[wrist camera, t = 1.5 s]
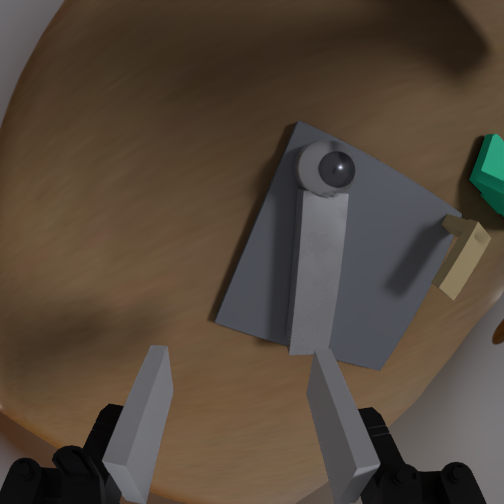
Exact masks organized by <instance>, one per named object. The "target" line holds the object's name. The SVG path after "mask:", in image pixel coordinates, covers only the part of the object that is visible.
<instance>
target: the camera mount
mask: <svg viewBox="0 0 504 504" xmlns="http://www.w3.org/2000/svg"><path fill="white" fill-rule="evenodd" d="M469 180H470V181H471V182H472V183H473V184H474V185H475V186H476V187H477V188H478V189H479V190H480V191H481V196H482V197H483V198H484V199H485V200H486V201H487V202H488V204H489V205H490V206H491V207H492V208H493V209H494V210H495V211H496V212H497V213H498V214H502V216H503V217H504V141H503V140H502V139H501V138H500V137H499V135H497V134H487V135H486V136H485V138H484V141H483V144H482V147H481V150H480V153H479V155H478V158H477V161H476V164H475V166H474V169H473V171H472V174H471V177H470V179H469Z"/></svg>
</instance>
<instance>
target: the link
mask: <svg viewBox="0 0 504 504" xmlns="http://www.w3.org/2000/svg"><path fill="white" fill-rule="evenodd" d="M293 172H294V176H295V179H296V181H297V183H298V184H299V185H300V186H301V187H302V188H303V189H301V188H297V204H296V220H295V235H294V248H293V261H292V274H291V286H290V297H289V308H288V318H287V328H286V338H285V340H286V344H287V349H288V353H289V355H311V354H314V349H328V347H329V342H330V336H331V331H332V325H333V319H334V313H335V307H336V301H337V294H338V287H339V280H340V273H341V265H342V257H343V248H344V239H345V230H346V220H347V209H348V196H349V194H346V193H345V192H346V191H347V190H348V189H349V188H350V186H351V185H352V183H353V181H354V178H355V172H356V168H355V162H354V159H353V157H352V155H351V153H350V152H349V150H348V149H347V148H346V147H345V146H343V145H342V144H340V143H338V142H336V141H333V140H321V141H317V142H314V143H310V144H308V145H306V146H304V147H303V148H302V149H301V150H300V151H299V152H298V153H297V155H296V157H295V159H294V163H293Z"/></svg>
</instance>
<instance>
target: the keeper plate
mask: <svg viewBox="0 0 504 504" xmlns="http://www.w3.org/2000/svg"><path fill="white" fill-rule="evenodd" d="M321 140H333V141H336V142H338V143H340V144H342V145H343V146H345V147H346V148H347V149H348V150H349V152H350V153H351V155H352V157H353V159H354V162H355V168H356V172H355V178H354V181H353V183H352V185H351V186H350V188H349V189H348V190H347V191H346V192H345V193H346V194H349V196H348V209H347V220H346V230H345V239H344V248H343V257H342V265H341V273H340V280H339V287H338V294H337V301H336V307H335V313H334V319H333V325H332V331H331V336H330V342H329V347H328V349H331V351H332V353H333V355H334V357H335V359H336V360H339V361H342V362H346V363H350V364H354V365H358V366H363V367H367V368H371V369H375V370H381V368H382V367H383V365H384V364H385V362H386V361H387V359H388V358H389V356H390V355H391V353H392V352H393V350H394V349H395V347H396V345H397V344H398V342H399V341H400V339H401V337H402V336H403V334H404V332H405V331H406V329H407V327H408V326H409V324H410V322H411V321H412V319H413V317H414V315H415V314H416V312H417V310H418V308H419V306H420V305H421V303H422V301H423V299H424V297H425V295H426V293H427V292H428V290H429V288H430V286H431V284H432V283H433V284H434V285H435V286H436V287H437V288H438V289H440V290H441V291H442V292H443V293H444V294H445V295H447V296H448V297H449V298H451V299H452V300H453V301H454V299H455V298H456V297H457V295H458V293H459V292H460V290H461V289H462V287H463V286H464V284H465V283H466V281H467V279H468V278H469V276H470V275H471V273H472V271H473V270H474V268H475V266H476V264H477V263H478V261H479V259H480V258H481V256H482V254H483V252H484V250H485V249H486V247H487V245H488V243H489V241H490V239H491V237H490V236H489V235H488V233H487V232H486V231H485V229H484V228H483V227H482V226H481V225H480V223H479V222H478V221H475V220H471V219H469V220H466V219H462V218H461V217H462V214H461V213H460V212H459V211H457V210H456V209H454V208H453V207H452V206H450V205H449V204H447V203H446V202H444V201H443V200H441V199H440V198H439V197H437V196H436V195H434V194H433V193H431V192H430V191H428V190H426V189H425V188H423V187H422V186H420V185H419V184H417V183H416V182H414V181H412V180H411V179H409V178H408V177H406V176H404V175H403V174H401V173H399V172H398V171H396V170H394V169H393V168H391V167H389V166H387V165H386V164H384V163H382V162H381V161H379V160H377V159H375V158H373V157H372V156H370V155H368V154H366V153H364V152H362V151H361V150H359V149H357V148H355V147H353V146H351V145H349V144H347V143H345V142H343V141H341V140H339V139H337V138H335V137H333V136H331V135H329V134H327V133H325V132H323V131H321V130H319V129H317V128H315V127H312V126H310V125H308V124H306V123H304V122H301V121H297V122H296V124H295V126H294V128H293V131H292V133H291V135H290V138H289V140H288V143H287V145H286V147H285V150H284V152H283V154H282V157H281V159H280V162H279V164H278V166H277V169H276V171H275V173H274V176H273V178H272V181H271V183H270V185H269V188H268V190H267V193H266V195H265V197H264V200H263V202H262V205H261V207H260V209H259V212H258V214H257V217H256V219H255V221H254V224H253V226H252V229H251V231H250V234H249V236H248V238H247V241H246V243H245V246H244V248H243V251H242V253H241V255H240V258H239V260H238V263H237V265H236V268H235V270H234V272H233V275H232V277H231V280H230V282H229V285H228V287H227V290H226V292H225V294H224V297H223V299H222V302H221V304H220V307H219V309H218V312H217V314H216V317H215V323H217V324H220V325H223V326H226V327H229V328H232V329H235V330H238V331H241V332H244V333H247V334H250V335H253V336H256V337H259V338H262V339H265V340H269V341H272V342H275V343H278V344H282V345H285V346H287V344H286V340H285V338H286V328H287V318H288V308H289V297H290V286H291V274H292V261H293V248H294V235H295V220H296V204H297V188H301V189H303V188H302V187H301V186H300V185H299V184H298V183H297V181H296V179H295V176H294V172H293V163H294V159H295V157H296V155H297V153H298V152H299V151H300V150H301V149H302V148H303V147H304V146H306V145H308V144H310V143H314V142H317V141H321ZM454 235H455V236H457V237H459V238H458V240H457V241H456V243H455V245H454V247H453V248H452V250H451V252H450V253H449V255H448V256H447V258H446V260H445V261H444V263H443V264H442V266H441V268H440V265H441V263H442V261H443V259H444V257H445V255H446V252H447V250H448V248H449V246H450V243H451V241H452V239H453V236H454ZM439 268H440V269H439ZM438 270H439V271H438Z"/></svg>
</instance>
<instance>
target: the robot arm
mask: <svg viewBox="0 0 504 504" xmlns="http://www.w3.org/2000/svg"><path fill="white" fill-rule="evenodd" d="M173 392H174V391H173V384H172V377H171V370H170V362H169V355H168V346H158V345H151V346H150V349H149V351H148V353H147V355H146V357H145V360H144V362H143V364H142V366H141V369H140V371H139V373H138V375H137V378H136V380H135V382H134V384H133V387H132V389H131V391H130V394H129V396H128V398H127V401H126V403H125V405H124V406H120V405H115V404H108V405H107V406H106V407H105V408H104V409H102V410H101V411H100V413H99V415H98V417H97V419H96V423H95V424H94V426H93V428H92V431H91V432H90V434H89V436H88V438H87V440H86V443H85V445H84V447H83V449H82V448H81V447H78V446H73V445H71V446H64V447H62V448H60V449H58V450H57V451H56V453H55V454H54V455H53V458H52V461H53V463H54V464H55V466H56V467H57V468H44V467H40V466H39V464H38V463H37V462H36V461H35V460H33V459H31V458H20V459H18V460H16V461H15V462H14V463H13V464H12V466H11V467H10V470H9V472H8V474H7V476H6V479H5V481H4V483H3V486H2V488H1V491H0V504H120V503H119V501H120V498H121V494H122V495H123V497H124V498H125V500H127V501H132V502H136V503H141V504H146V502H147V498H148V493H149V489H150V485H151V480H152V476H153V472H154V467H155V463H156V459H157V455H158V451H159V446H160V442H161V438H162V434H163V430H164V426H165V422H166V418H167V415H168V411H169V407H170V403H171V399H172V395H173ZM306 394H307V398H308V402H309V405H310V409H311V413H312V417H313V421H314V424H315V428H316V432H317V436H318V440H319V443H320V447H321V451H322V455H323V459H324V463H325V467H326V471H327V475H328V479H329V482H330V486H331V490H332V494H333V499H334V503H335V504H349V503H355V502H356V501H357V500H358V498H359V497H360V496H361V500H362V503H363V504H486V501H485V499H484V497H483V495H482V493H481V490H480V488H479V486H478V484H477V482H476V480H475V478H474V476H473V473H472V471H471V470H470V468H469V467H468V466H467V465H465V464H463V463H460V462H453V463H450V464H448V465H446V466H445V467H444V468H443V469H442V471H430V472H421V471H417V470H416V469H415V468H414V467H412V466H410V465H408V464H405V462H404V461H403V459H402V457H401V455H400V453H399V451H398V449H397V446H396V444H395V442H394V440H393V438H392V436H391V434H389V430H388V428H387V426H386V424H385V422H384V420H383V418H382V416H381V414H379V413H378V412H377V411H376V410H375V409H374V408H373V407H370V408H363V409H357V407H356V404H355V402H354V400H353V398H352V395H351V393H350V391H349V389H348V386H347V384H346V382H345V379H344V377H343V375H342V373H341V371H340V368H339V366H338V364H337V362H336V359H335V357H334V355H333V353H332V351H331V349H314V355H313V360H312V366H311V372H310V377H309V383H308V388H307V393H306Z"/></svg>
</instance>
